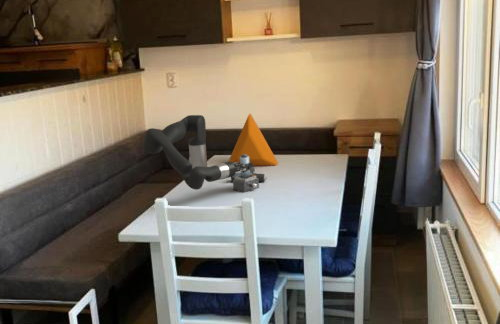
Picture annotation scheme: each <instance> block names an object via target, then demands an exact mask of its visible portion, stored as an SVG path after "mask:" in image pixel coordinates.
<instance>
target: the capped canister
mask: <svg viewBox="0 0 500 324" xmlns="http://www.w3.org/2000/svg"><path fill="white" fill-rule="evenodd" d="M241 163H243V164H247V163H249V156H247V154H242V155H241V157H240V164H241ZM241 168H242V165H241ZM239 173H241V178H248V177H250V170H248V171H246V172H242V171H239Z"/></svg>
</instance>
